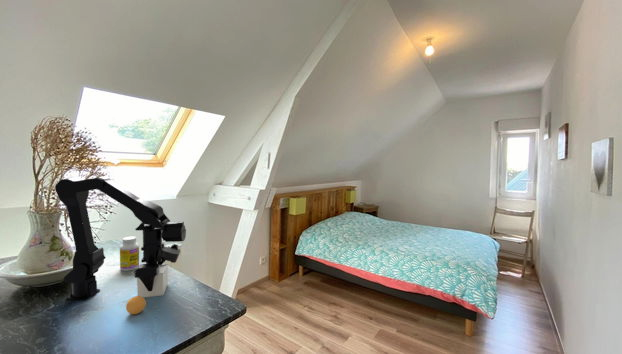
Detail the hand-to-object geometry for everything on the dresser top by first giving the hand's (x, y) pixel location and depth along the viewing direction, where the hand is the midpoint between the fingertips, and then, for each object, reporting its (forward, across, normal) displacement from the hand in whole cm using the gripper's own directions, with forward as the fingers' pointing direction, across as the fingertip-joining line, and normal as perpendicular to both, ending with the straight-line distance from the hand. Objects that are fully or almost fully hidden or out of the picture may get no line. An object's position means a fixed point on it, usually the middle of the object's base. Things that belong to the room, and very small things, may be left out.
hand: (153, 285), depth 95 cm
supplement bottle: (+2, +23, +14) cm, 27 cm away
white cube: (+2, 0, 0) cm, 2 cm away
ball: (0, -13, +2) cm, 13 cm away
